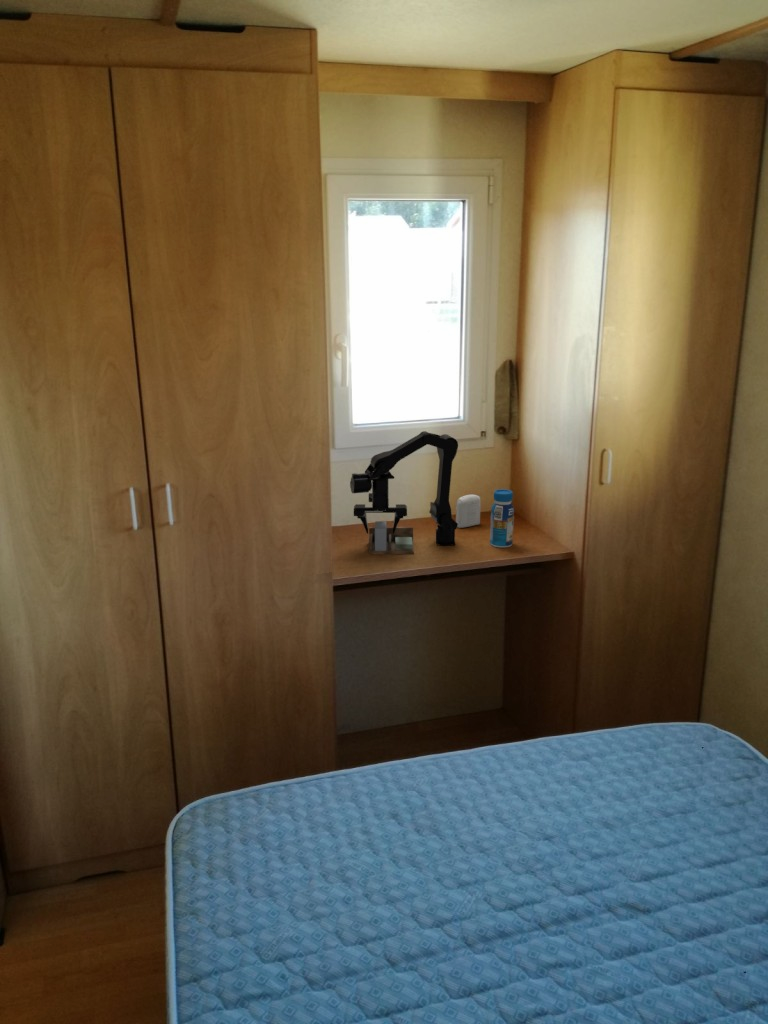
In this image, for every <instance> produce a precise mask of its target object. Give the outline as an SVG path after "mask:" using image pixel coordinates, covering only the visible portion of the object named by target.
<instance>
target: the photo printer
mask: <svg viewBox="0 0 768 1024" xmlns="http://www.w3.org/2000/svg"><path fill="white" fill-rule="evenodd" d="M481 501H482V500H481V497H480V496H479V495H478V494H477V495H476V494H466V495H463V496H460V497H459V498H457V500H456V509H455V522H456V523H457V524H458V525H457V528H458V529H461V528H467V527H473V526H477V525H480V523H481V507H482V506H481V505H482V503H481Z"/></svg>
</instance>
